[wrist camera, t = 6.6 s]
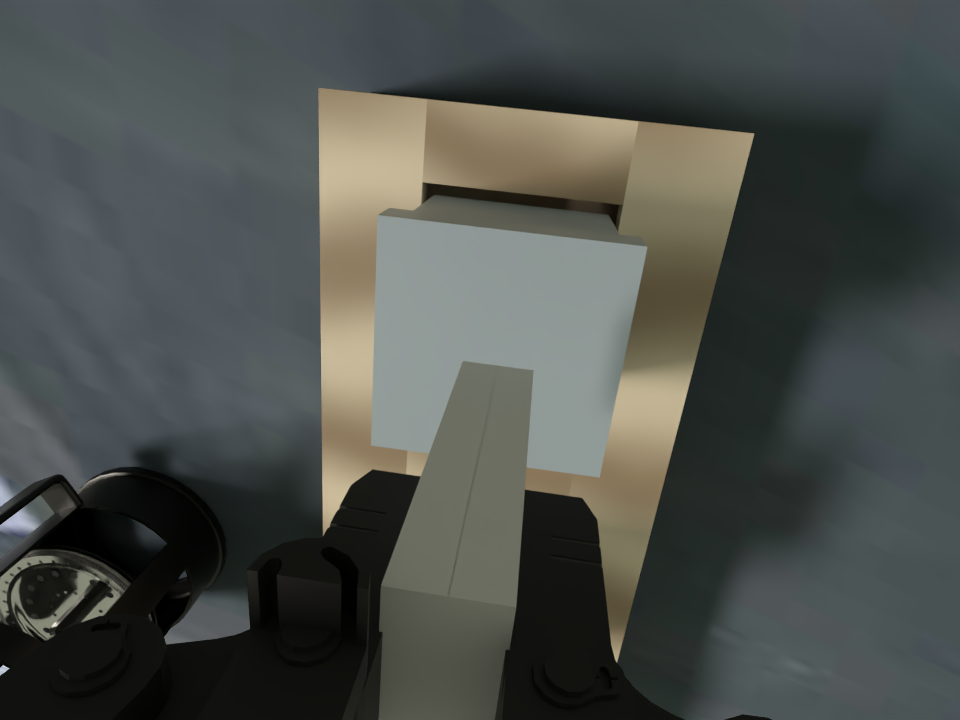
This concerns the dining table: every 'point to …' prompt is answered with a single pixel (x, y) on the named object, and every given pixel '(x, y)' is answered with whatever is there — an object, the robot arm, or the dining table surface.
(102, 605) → the french press
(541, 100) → the dining table surface
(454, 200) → the slate key
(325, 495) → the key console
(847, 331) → the dining table surface
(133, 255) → the dining table surface
